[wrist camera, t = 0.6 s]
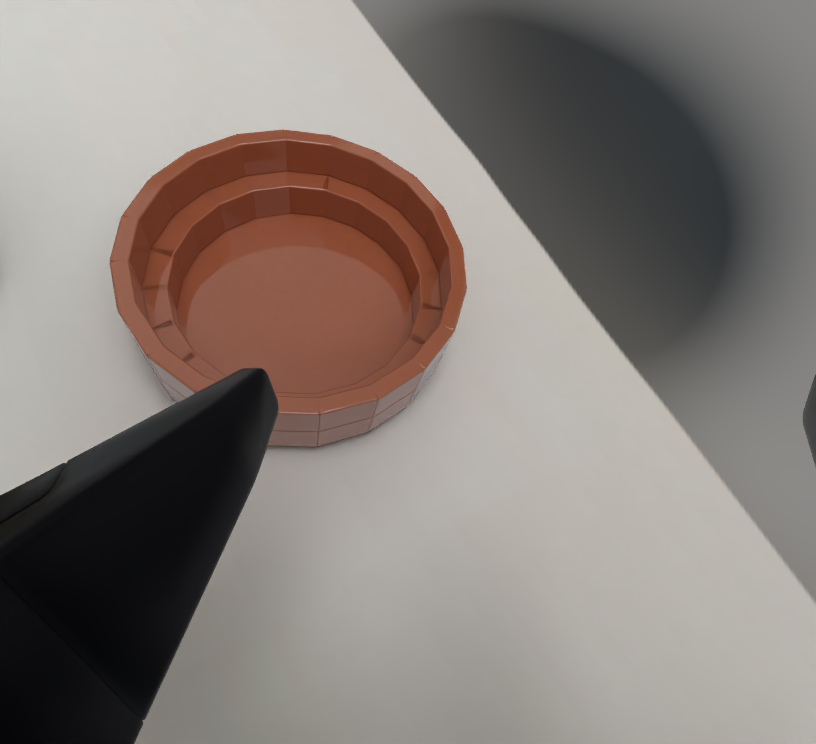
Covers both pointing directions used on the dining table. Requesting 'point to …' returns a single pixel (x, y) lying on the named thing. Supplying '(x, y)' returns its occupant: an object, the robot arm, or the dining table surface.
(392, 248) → the bowl
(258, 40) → the dining table surface
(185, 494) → the robot arm
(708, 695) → the dining table surface
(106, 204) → the dining table surface
